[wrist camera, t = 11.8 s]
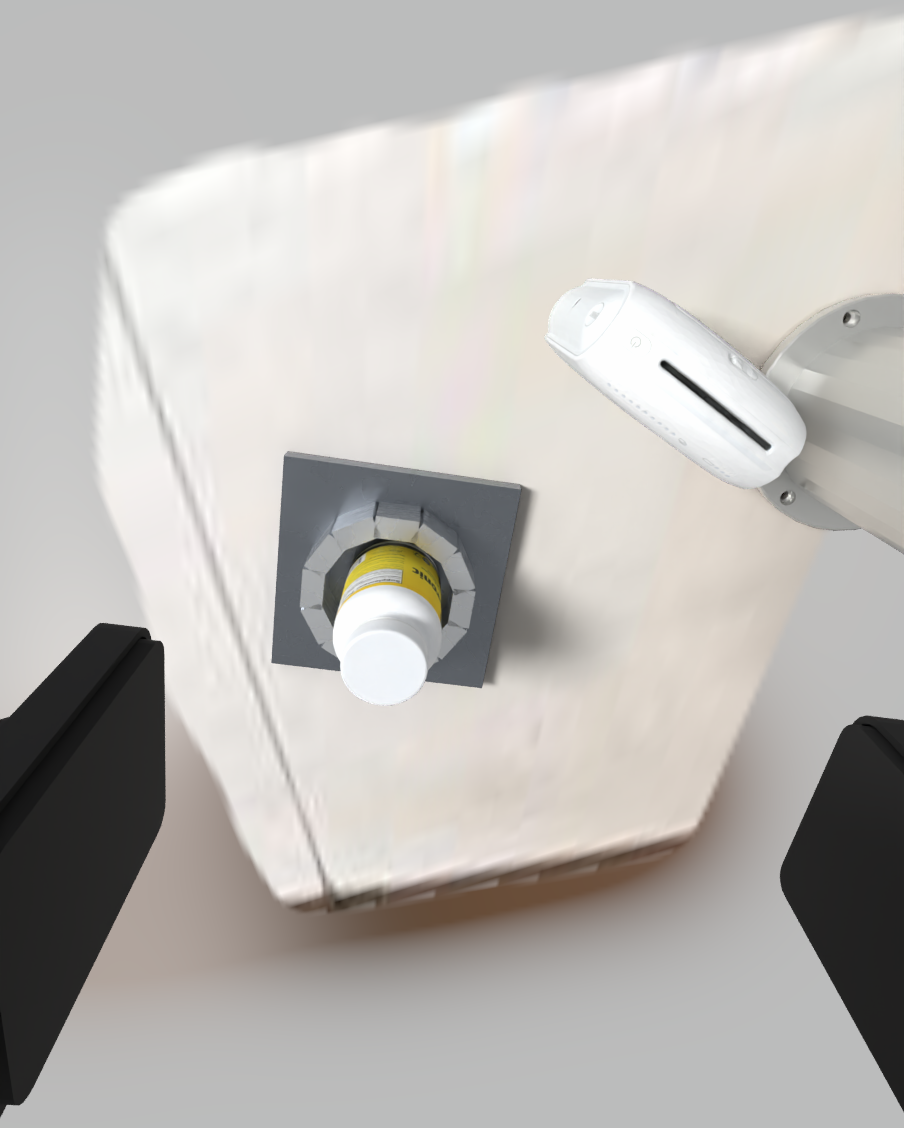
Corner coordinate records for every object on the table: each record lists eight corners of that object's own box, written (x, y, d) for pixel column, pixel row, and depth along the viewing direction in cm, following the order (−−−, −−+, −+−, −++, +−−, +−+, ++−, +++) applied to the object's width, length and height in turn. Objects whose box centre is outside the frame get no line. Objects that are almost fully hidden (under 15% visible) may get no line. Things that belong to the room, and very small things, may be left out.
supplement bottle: (449, 613, 42) (453, 709, 33) (360, 629, 42) (339, 729, 33) (431, 528, 39) (429, 607, 30) (337, 547, 40) (308, 629, 31)
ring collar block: (519, 484, 40) (526, 503, 36) (480, 679, 45) (484, 711, 41) (287, 451, 39) (273, 468, 35) (274, 654, 44) (262, 685, 40)
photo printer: (527, 336, 36) (568, 369, 25) (580, 263, 35) (648, 262, 24) (673, 448, 39) (771, 524, 28) (727, 384, 38) (854, 435, 26)
